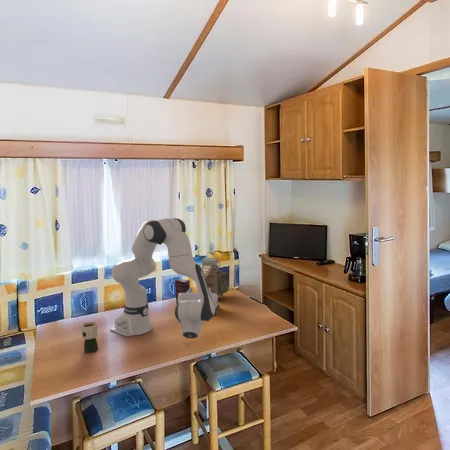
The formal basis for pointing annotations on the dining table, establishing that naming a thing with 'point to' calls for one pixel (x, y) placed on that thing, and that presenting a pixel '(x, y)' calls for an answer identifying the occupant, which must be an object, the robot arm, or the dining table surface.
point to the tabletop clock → (221, 282)
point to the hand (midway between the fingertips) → (199, 288)
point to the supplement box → (181, 287)
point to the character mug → (89, 336)
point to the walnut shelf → (213, 284)
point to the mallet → (208, 265)
